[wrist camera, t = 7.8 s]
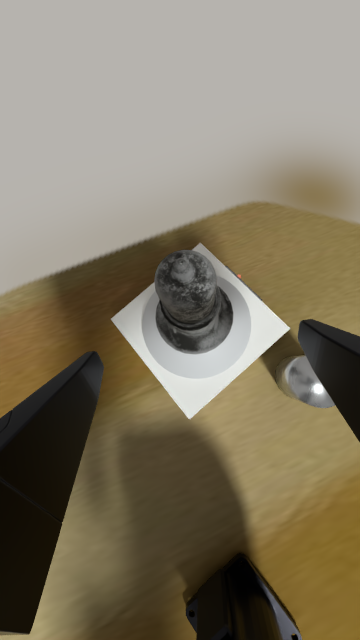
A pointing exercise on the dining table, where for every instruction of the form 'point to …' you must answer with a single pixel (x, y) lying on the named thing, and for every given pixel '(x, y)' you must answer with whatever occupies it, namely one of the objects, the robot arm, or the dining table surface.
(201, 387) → the scale
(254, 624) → the robot arm
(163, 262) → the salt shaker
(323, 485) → the dining table surface
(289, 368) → the spacer
